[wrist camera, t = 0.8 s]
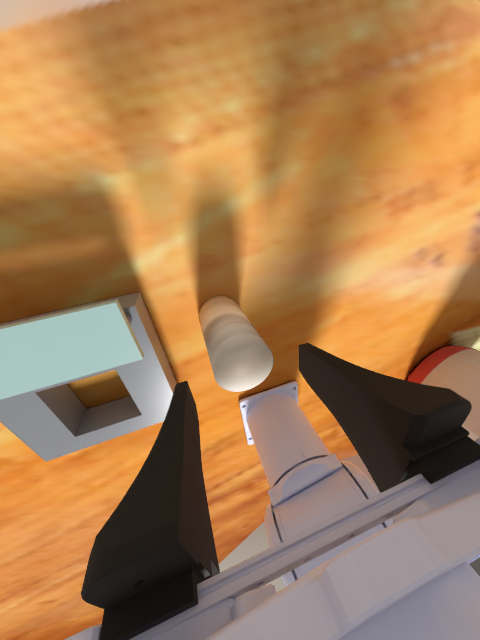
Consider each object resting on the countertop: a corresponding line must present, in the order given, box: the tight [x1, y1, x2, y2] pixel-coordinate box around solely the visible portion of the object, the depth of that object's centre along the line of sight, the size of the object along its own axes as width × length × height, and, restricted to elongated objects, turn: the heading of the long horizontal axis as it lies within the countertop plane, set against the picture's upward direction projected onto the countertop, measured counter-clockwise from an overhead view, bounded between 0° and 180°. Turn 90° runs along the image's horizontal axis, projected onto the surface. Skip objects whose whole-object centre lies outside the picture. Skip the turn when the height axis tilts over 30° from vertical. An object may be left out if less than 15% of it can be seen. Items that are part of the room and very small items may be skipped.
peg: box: [199, 296, 274, 392], centre depth 17 cm, size 4×4×8 cm
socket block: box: [0, 292, 177, 461], centre depth 16 cm, size 14×12×6 cm
